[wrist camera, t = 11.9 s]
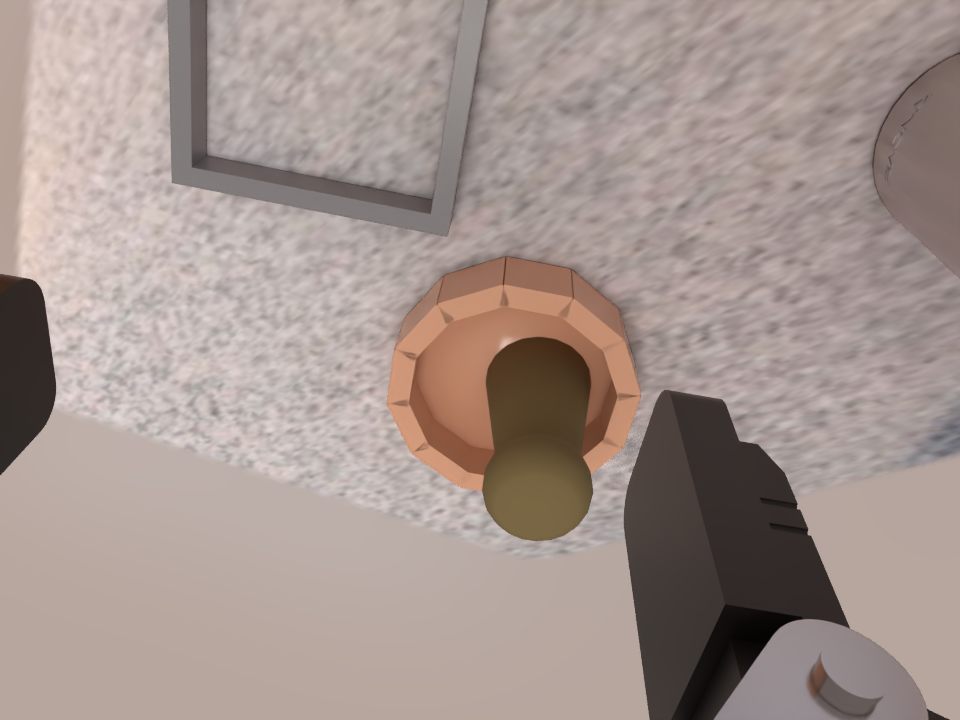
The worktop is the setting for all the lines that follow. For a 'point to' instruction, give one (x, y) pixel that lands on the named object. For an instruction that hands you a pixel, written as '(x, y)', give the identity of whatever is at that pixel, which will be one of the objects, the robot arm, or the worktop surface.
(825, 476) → the worktop surface
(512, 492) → the olive pestle
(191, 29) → the rectangular frame
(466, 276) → the bowl
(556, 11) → the worktop surface
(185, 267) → the worktop surface
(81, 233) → the worktop surface
